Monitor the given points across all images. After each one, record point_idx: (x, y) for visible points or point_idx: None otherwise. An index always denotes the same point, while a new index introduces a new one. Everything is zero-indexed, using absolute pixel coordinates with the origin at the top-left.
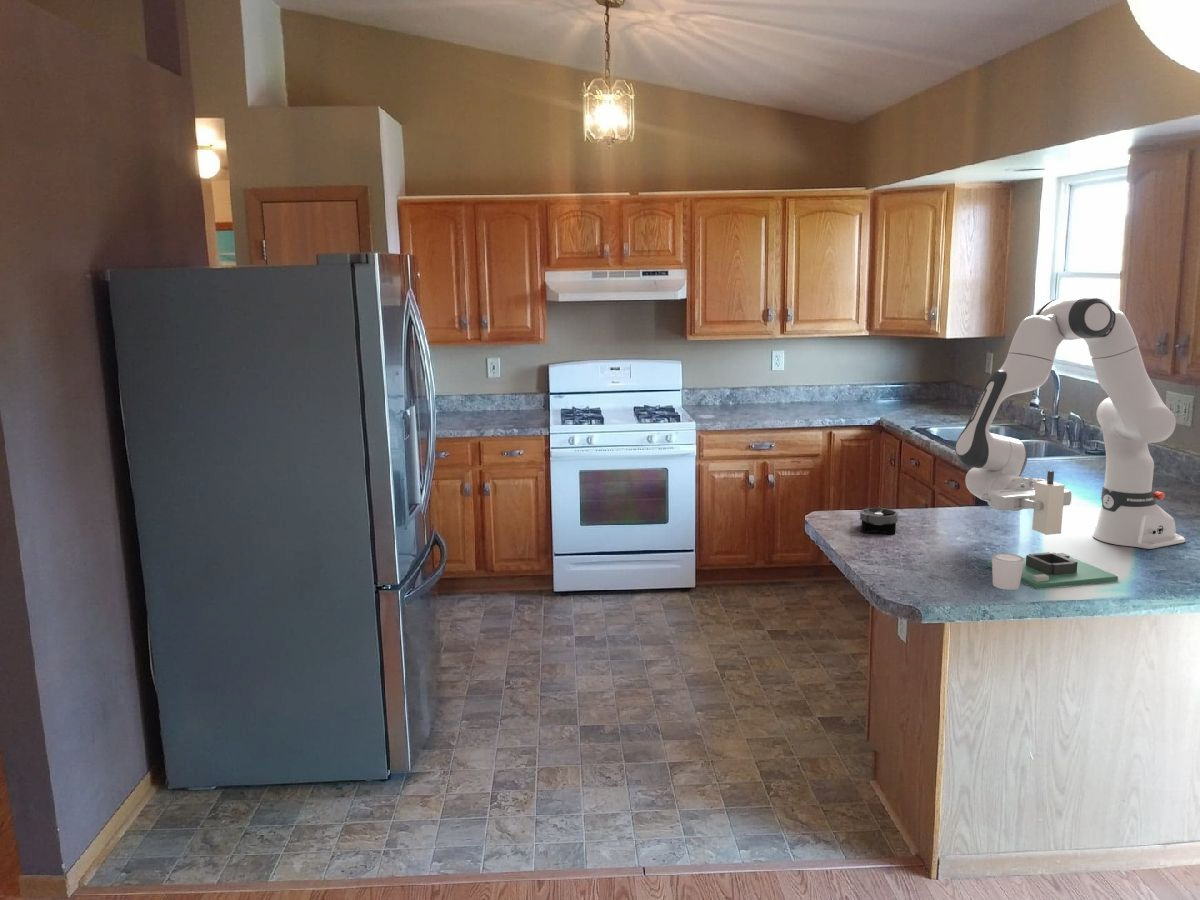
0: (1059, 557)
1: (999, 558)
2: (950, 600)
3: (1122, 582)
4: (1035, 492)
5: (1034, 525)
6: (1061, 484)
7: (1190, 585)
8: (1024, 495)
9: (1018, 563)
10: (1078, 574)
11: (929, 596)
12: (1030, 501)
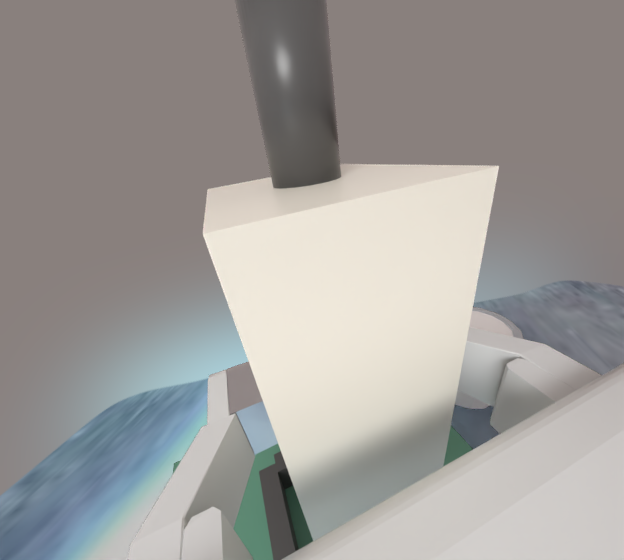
0: (295, 548)
1: (492, 320)
2: (533, 301)
3: (176, 461)
4: (461, 313)
5: None
6: (218, 189)
7: (36, 465)
8: (613, 382)
9: None
10: (274, 460)
11: (581, 307)
12: (480, 333)
